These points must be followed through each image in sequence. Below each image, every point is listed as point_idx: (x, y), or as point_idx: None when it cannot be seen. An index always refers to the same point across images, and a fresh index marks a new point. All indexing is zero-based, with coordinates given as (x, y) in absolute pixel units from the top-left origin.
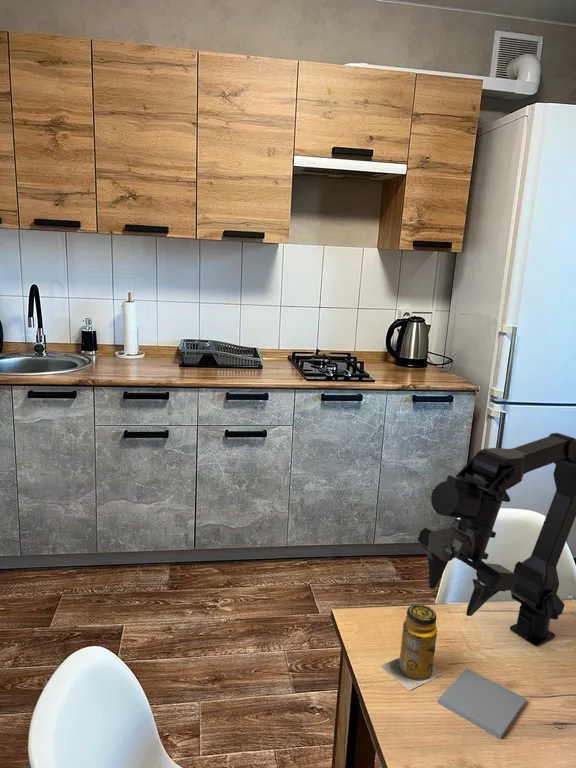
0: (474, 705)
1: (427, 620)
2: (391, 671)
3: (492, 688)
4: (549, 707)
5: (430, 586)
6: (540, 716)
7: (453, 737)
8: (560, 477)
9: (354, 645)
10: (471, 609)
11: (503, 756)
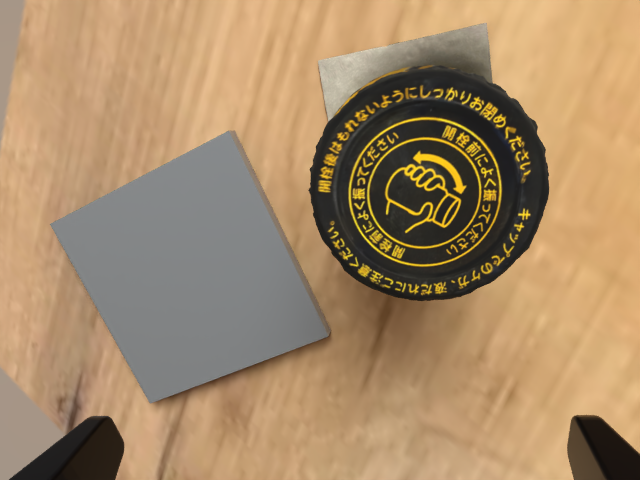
0: (168, 231)
1: (320, 169)
2: (438, 51)
3: (215, 342)
4: (126, 439)
5: (586, 427)
6: (105, 390)
7: (97, 84)
8: None
9: None
10: (23, 472)
11: (10, 183)
